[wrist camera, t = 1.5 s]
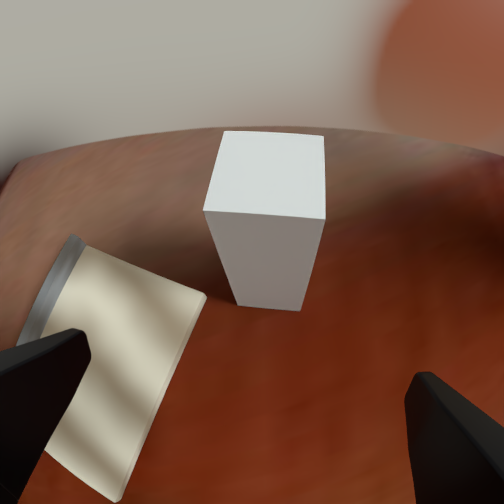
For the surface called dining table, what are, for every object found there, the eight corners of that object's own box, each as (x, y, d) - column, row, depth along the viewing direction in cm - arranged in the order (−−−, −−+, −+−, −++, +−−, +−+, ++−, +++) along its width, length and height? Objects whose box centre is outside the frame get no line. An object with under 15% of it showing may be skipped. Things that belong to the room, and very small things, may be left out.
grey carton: (300, 311, 21) (325, 219, 11) (237, 305, 22) (202, 210, 11) (304, 251, 24) (323, 131, 13) (246, 246, 24) (225, 127, 13)
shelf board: (120, 499, 15) (105, 507, 13) (11, 410, 18) (-7, 408, 16) (206, 297, 22) (199, 285, 20) (82, 245, 25) (69, 232, 23)
